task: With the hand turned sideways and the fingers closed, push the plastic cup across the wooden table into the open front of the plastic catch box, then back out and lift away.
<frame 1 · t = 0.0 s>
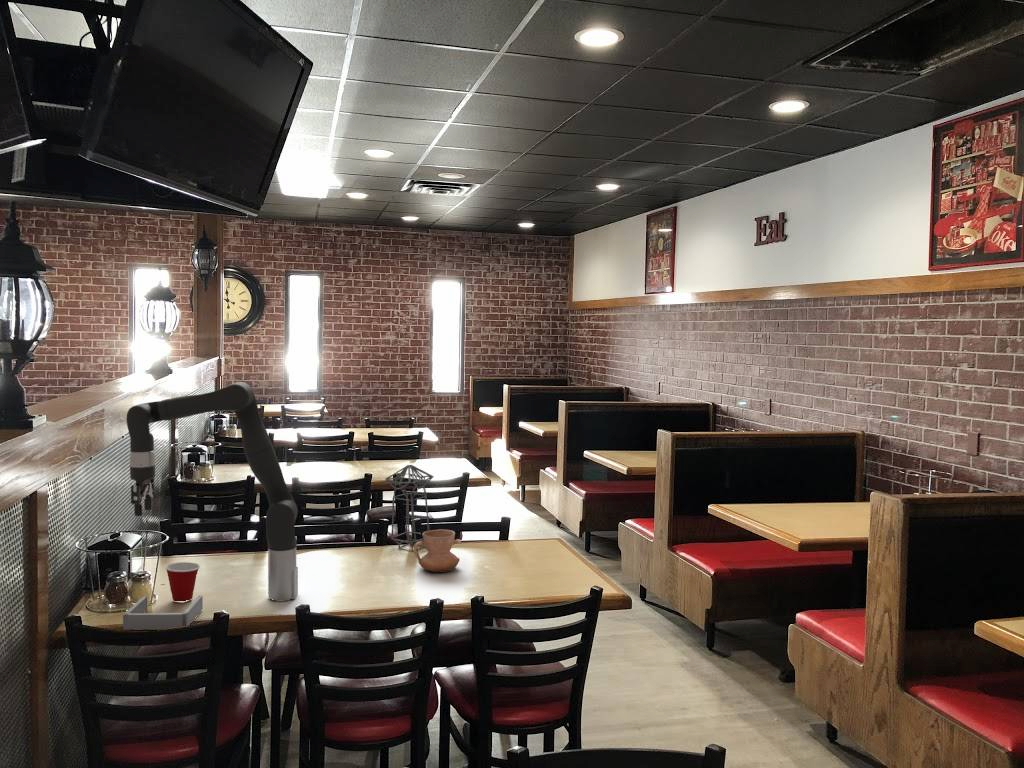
hand: (143, 512, 264), 29 cm above the table, tool pointing down, fingers open, 8 cm apart
catch box: (164, 620, 247), on the table
ceramic jug: (437, 569, 303), on the table
geometric lantern: (409, 548, 331), on the table
plastic cup: (183, 600, 265), on the table
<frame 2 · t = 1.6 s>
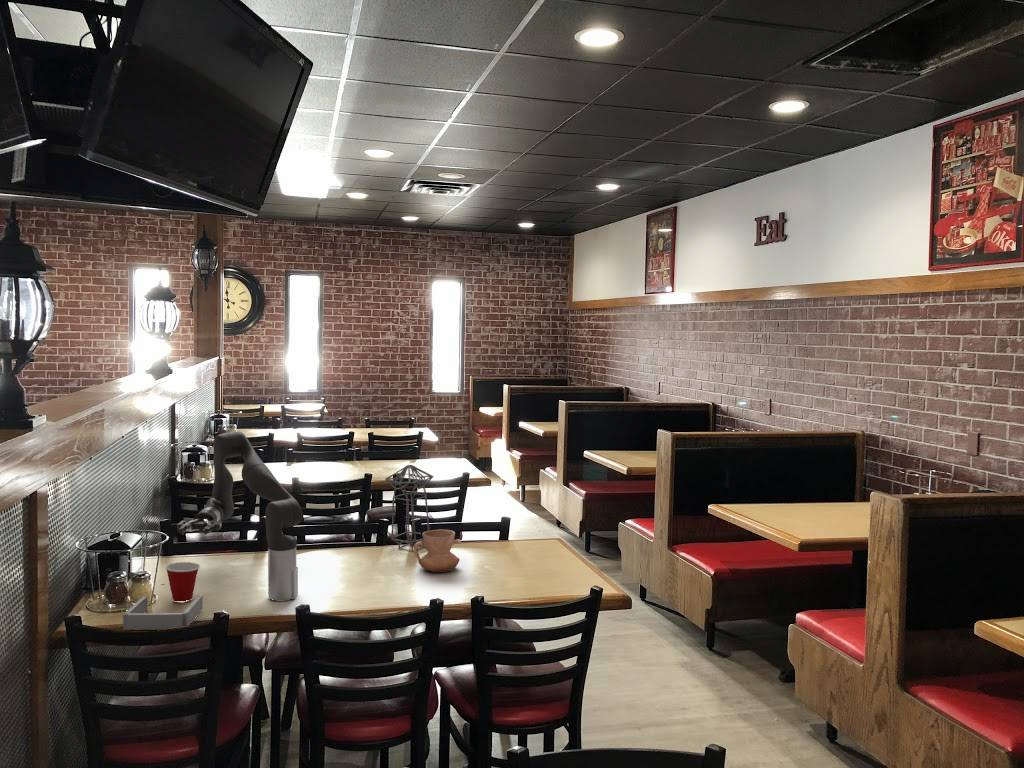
hand: (193, 531, 275), 20 cm above the table, tool horizontal, fingers open, 7 cm apart
nothing on the table moved.
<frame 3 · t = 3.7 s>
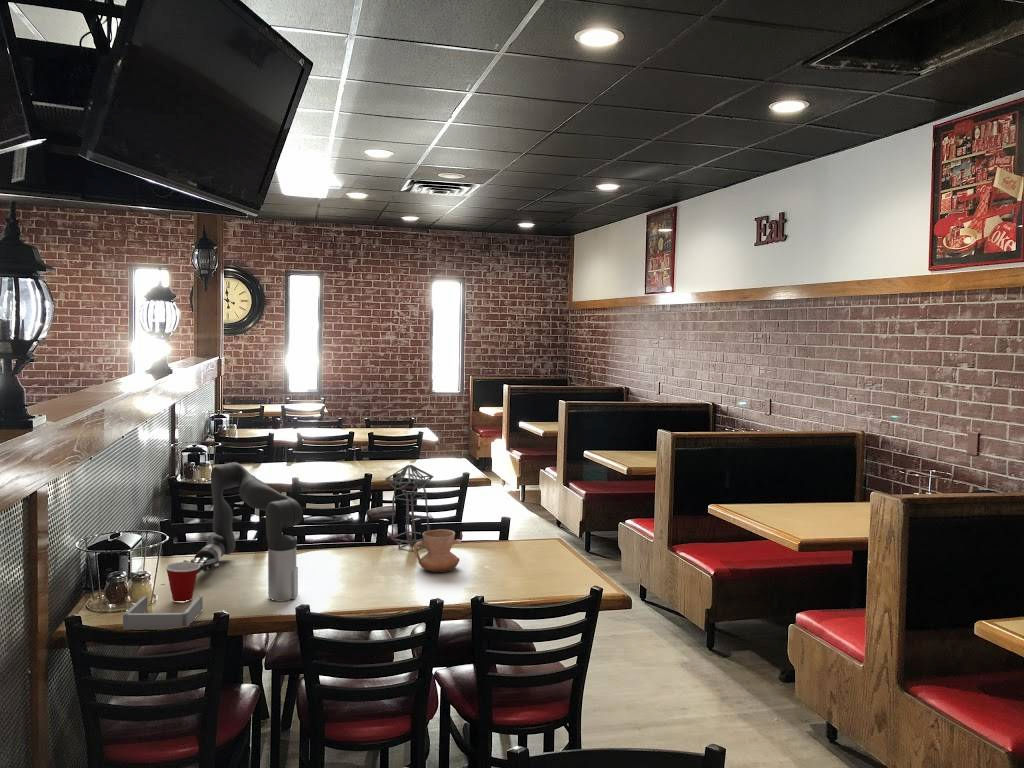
hand: (193, 571, 276), 6 cm above the table, tool horizontal, fingers closed
nothing on the table moved.
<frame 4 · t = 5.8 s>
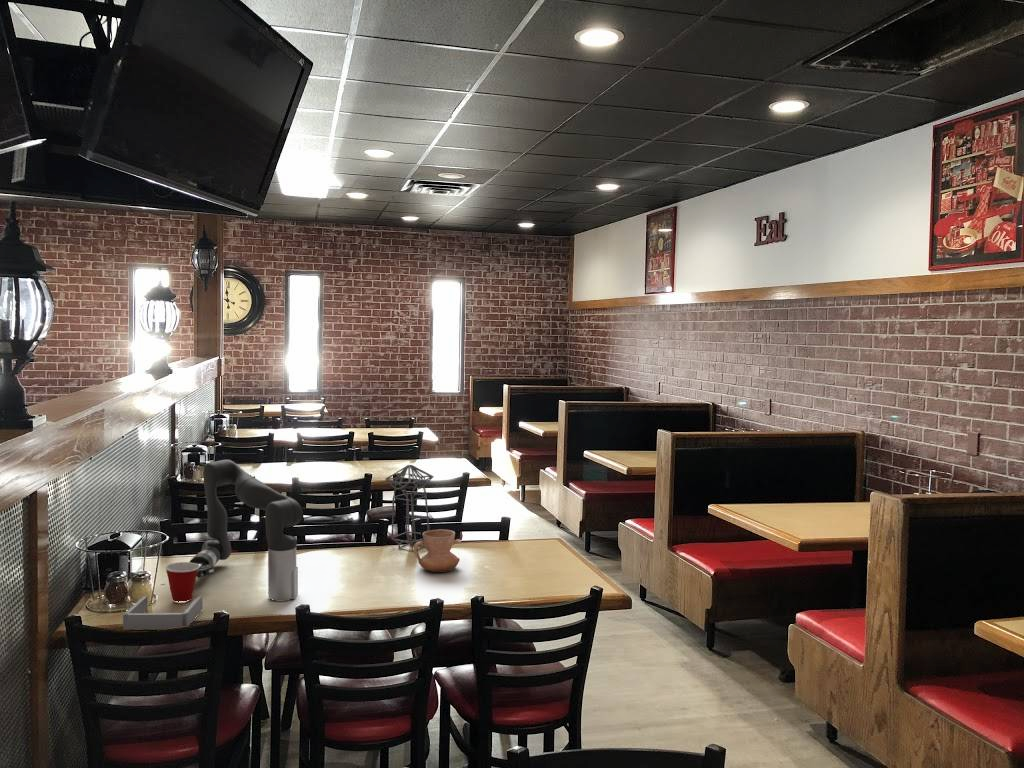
hand: (187, 578, 269), 6 cm above the table, tool horizontal, fingers closed
plastic cup: (183, 601, 265), on the table, touching gripper
everything else where it was.
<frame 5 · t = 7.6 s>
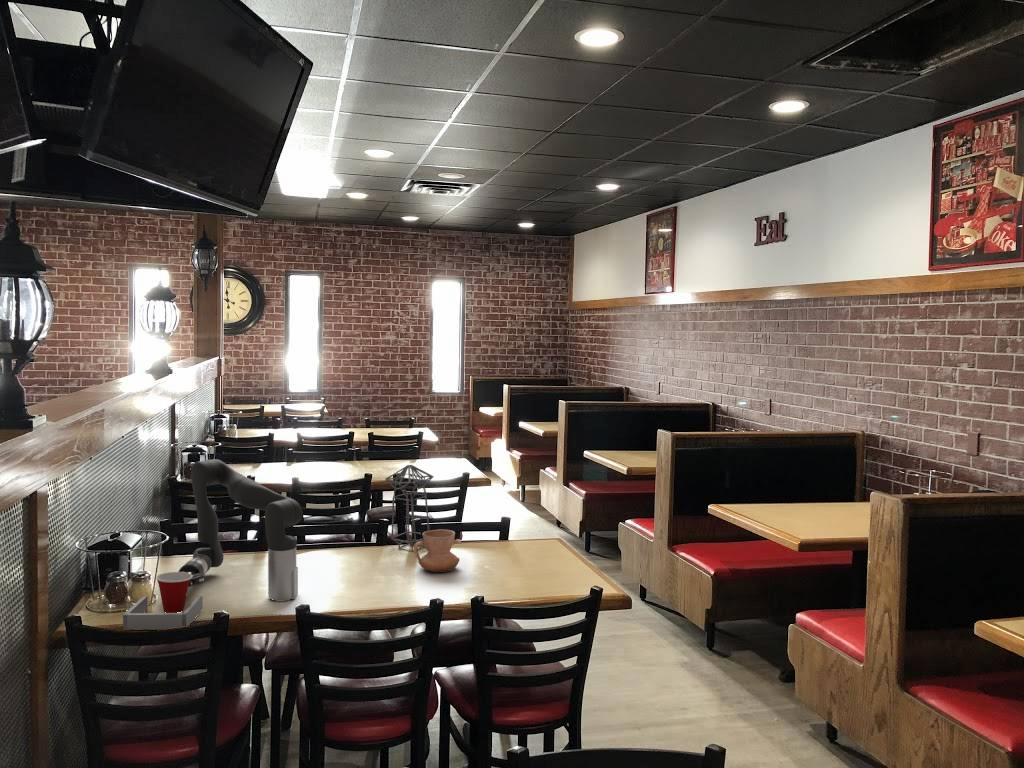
hand: (175, 587, 258), 6 cm above the table, tool horizontal, fingers closed
plastic cup: (174, 612, 255), on the table, touching gripper
everything else where it was.
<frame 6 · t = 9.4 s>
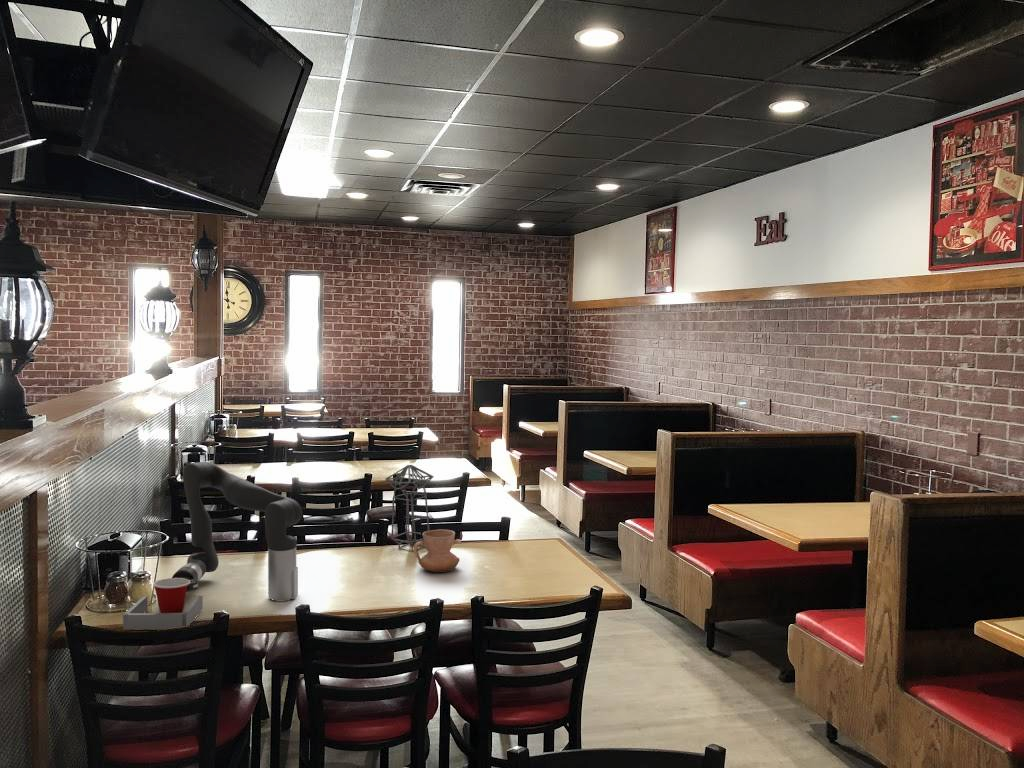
hand: (168, 594, 252), 6 cm above the table, tool horizontal, fingers closed
plastic cup: (172, 619, 249), on the table, touching gripper
everything else where it was.
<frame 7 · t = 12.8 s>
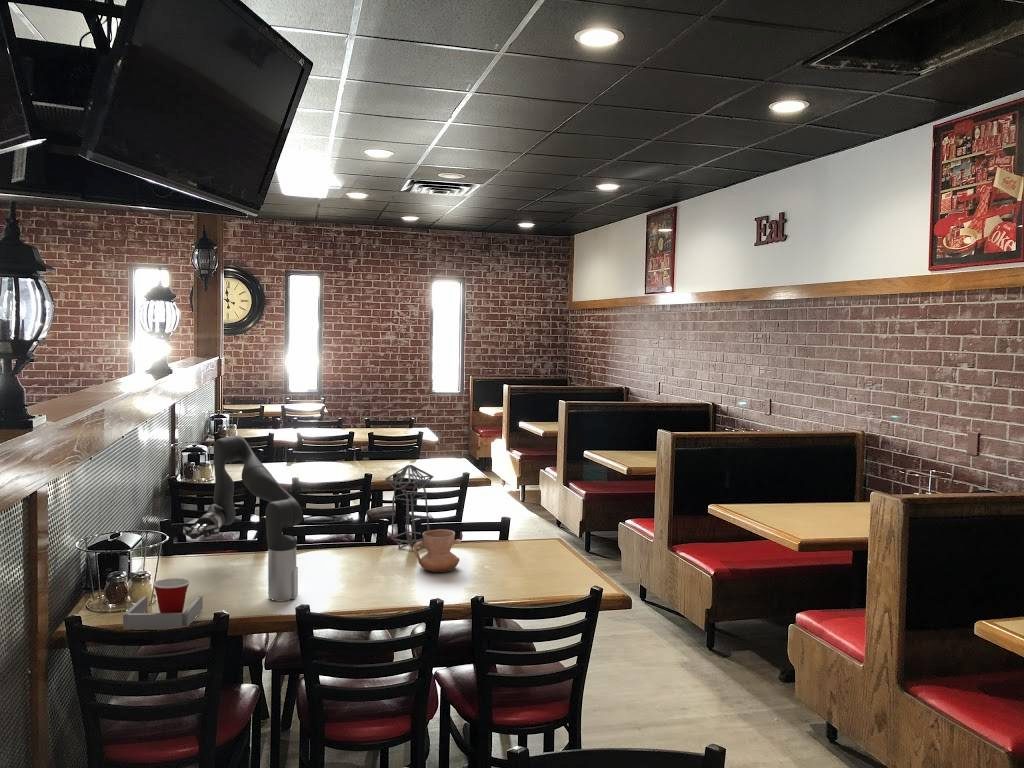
hand: (193, 536, 274), 19 cm above the table, tool horizontal, fingers closed
plastic cup: (172, 619, 249), on the table
everything else where it was.
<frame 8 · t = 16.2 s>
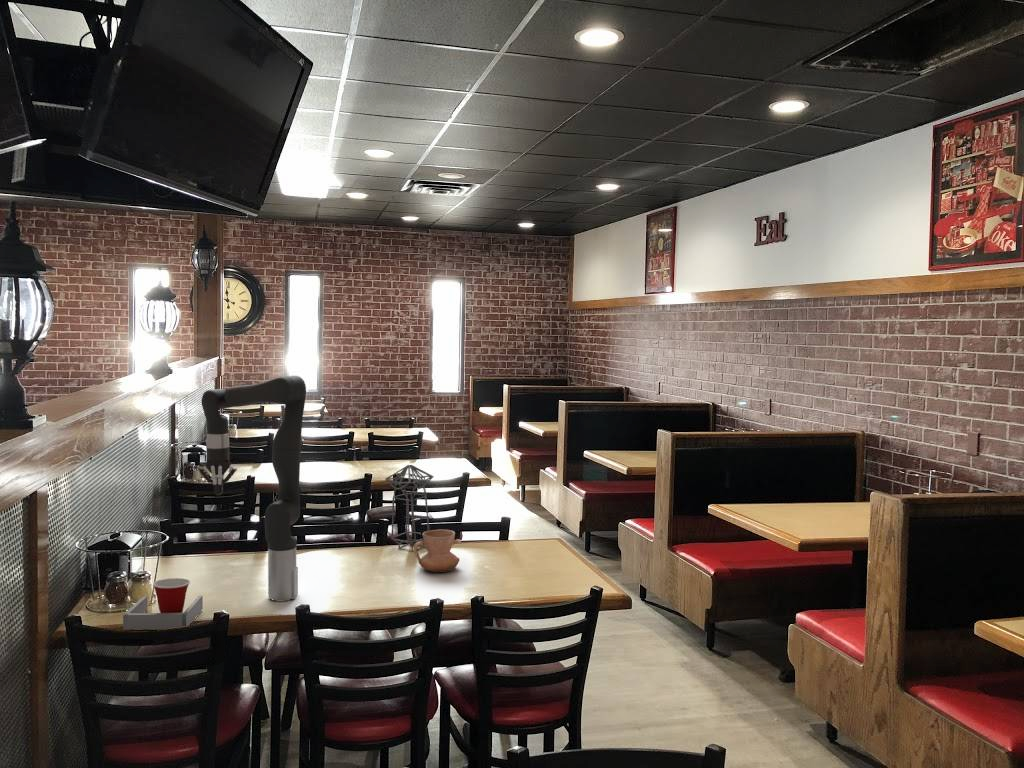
hand: (218, 494, 280), 32 cm above the table, tool pointing down, fingers closed
nothing on the table moved.
at the end: plastic cup inside the target area on the catch box (2.0 cm from its centre), point 0.0 cm above the catch box's base; plastic cup tilted 0° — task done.
